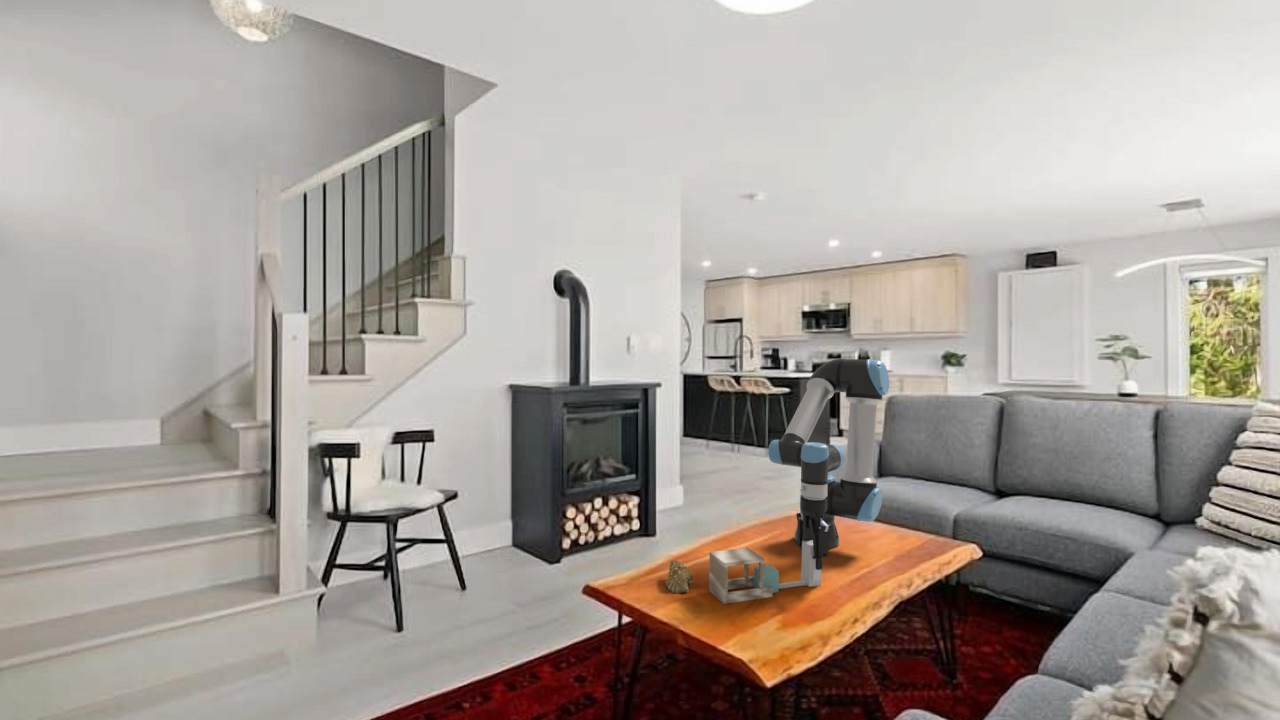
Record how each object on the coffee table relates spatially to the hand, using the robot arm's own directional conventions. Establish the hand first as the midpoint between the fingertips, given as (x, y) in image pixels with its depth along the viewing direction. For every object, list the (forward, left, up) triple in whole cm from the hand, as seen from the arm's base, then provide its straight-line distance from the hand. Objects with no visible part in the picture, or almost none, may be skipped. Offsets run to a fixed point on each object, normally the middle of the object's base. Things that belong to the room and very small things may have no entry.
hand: (811, 576), depth 178 cm
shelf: (+23, 0, -2) cm, 23 cm away
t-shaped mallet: (+8, 0, -2) cm, 8 cm away
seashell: (+38, -11, -2) cm, 39 cm away
